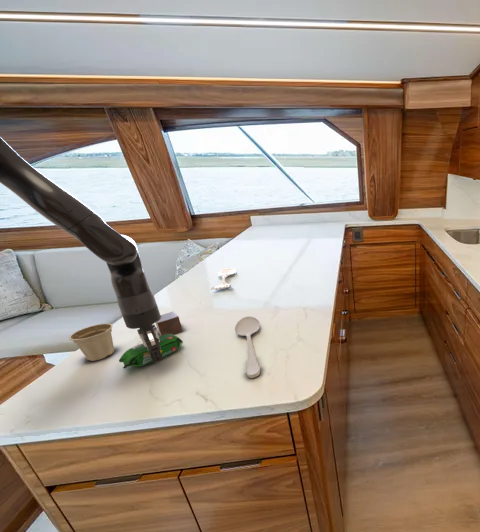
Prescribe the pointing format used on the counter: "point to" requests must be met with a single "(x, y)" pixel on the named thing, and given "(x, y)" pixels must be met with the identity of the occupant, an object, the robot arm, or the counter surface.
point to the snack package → (143, 357)
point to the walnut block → (169, 324)
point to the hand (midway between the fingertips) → (157, 360)
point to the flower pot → (94, 341)
